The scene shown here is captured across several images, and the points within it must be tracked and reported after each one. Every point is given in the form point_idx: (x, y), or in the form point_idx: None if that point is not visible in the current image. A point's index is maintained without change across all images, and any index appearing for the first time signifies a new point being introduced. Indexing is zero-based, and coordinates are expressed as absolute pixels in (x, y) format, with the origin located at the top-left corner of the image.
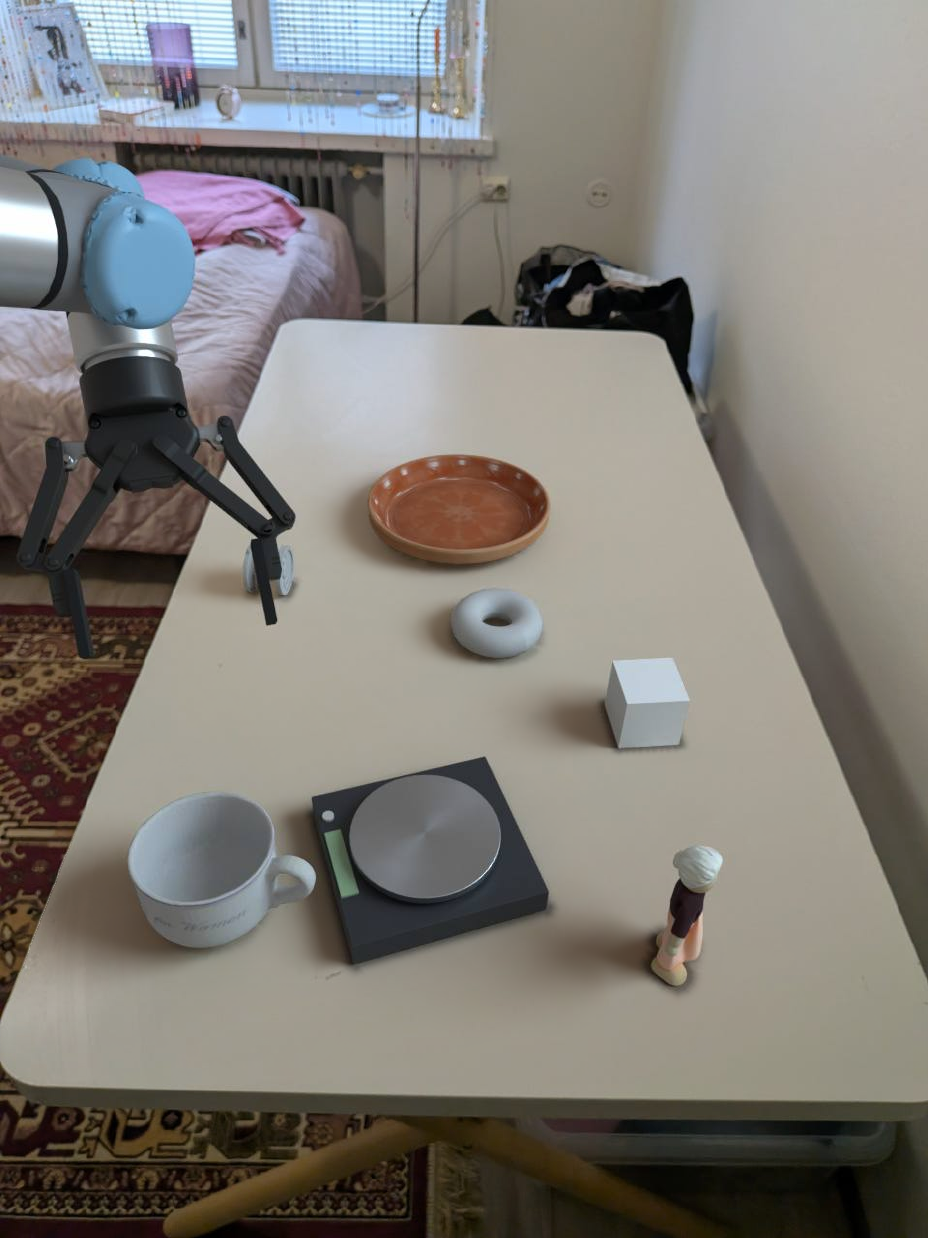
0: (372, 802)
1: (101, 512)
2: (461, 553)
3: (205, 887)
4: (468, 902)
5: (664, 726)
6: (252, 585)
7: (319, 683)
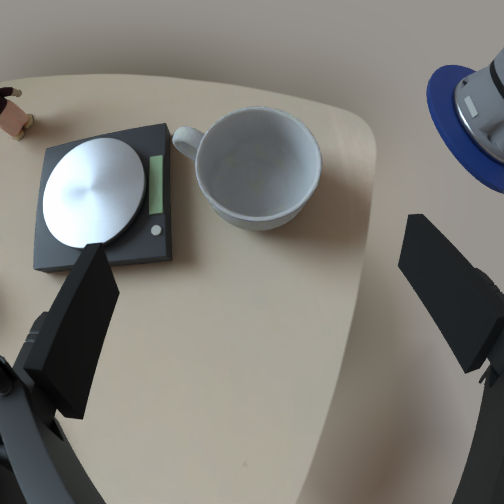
0: (116, 225)
1: (464, 495)
2: None
3: (263, 198)
4: None
5: None
6: None
7: (150, 419)
